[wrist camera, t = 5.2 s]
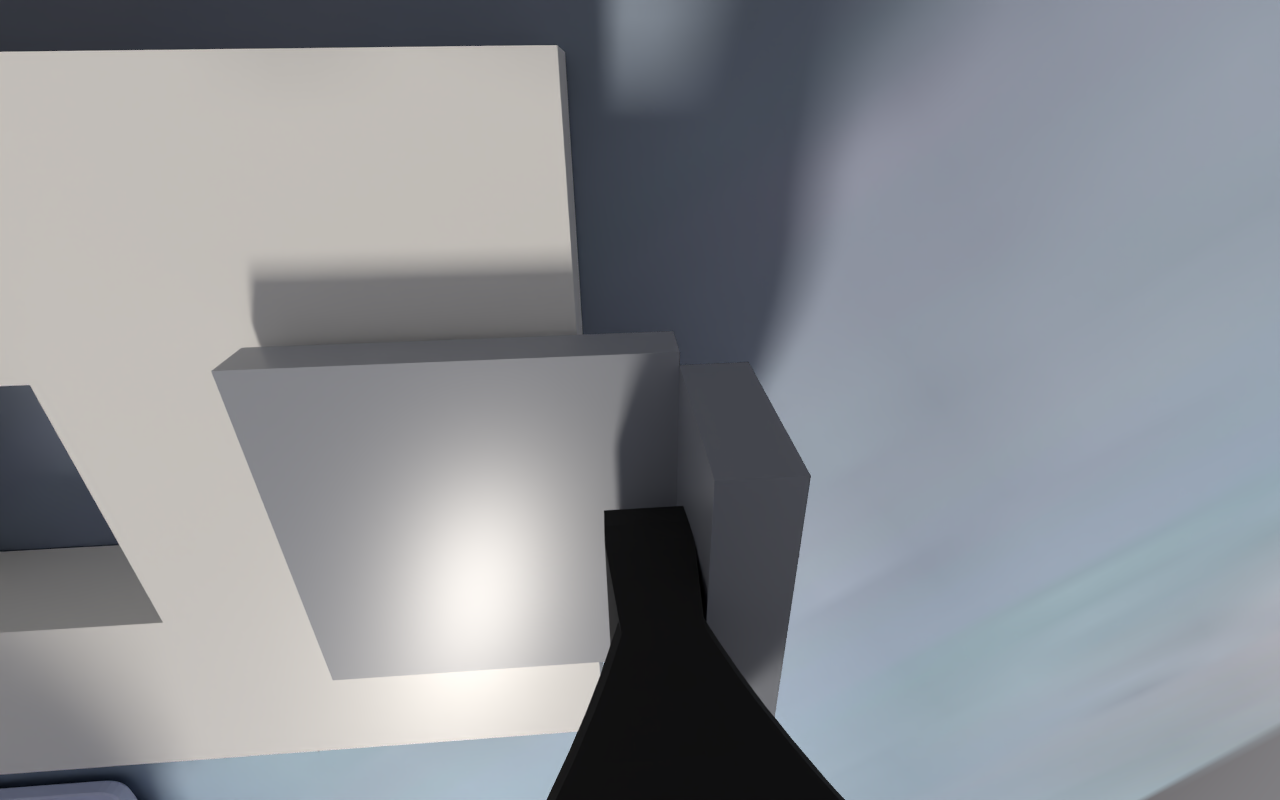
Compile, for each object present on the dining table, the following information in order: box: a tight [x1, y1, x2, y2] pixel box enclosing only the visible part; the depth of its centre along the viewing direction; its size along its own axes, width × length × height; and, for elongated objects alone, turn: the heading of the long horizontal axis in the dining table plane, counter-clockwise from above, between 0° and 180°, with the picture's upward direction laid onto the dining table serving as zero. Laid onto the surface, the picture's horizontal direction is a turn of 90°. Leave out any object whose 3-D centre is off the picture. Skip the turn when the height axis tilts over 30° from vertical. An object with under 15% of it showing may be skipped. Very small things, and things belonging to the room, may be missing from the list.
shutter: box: [211, 331, 811, 717], centre depth 9 cm, size 6×7×4 cm
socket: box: [0, 45, 603, 775], centre depth 11 cm, size 14×16×2 cm
